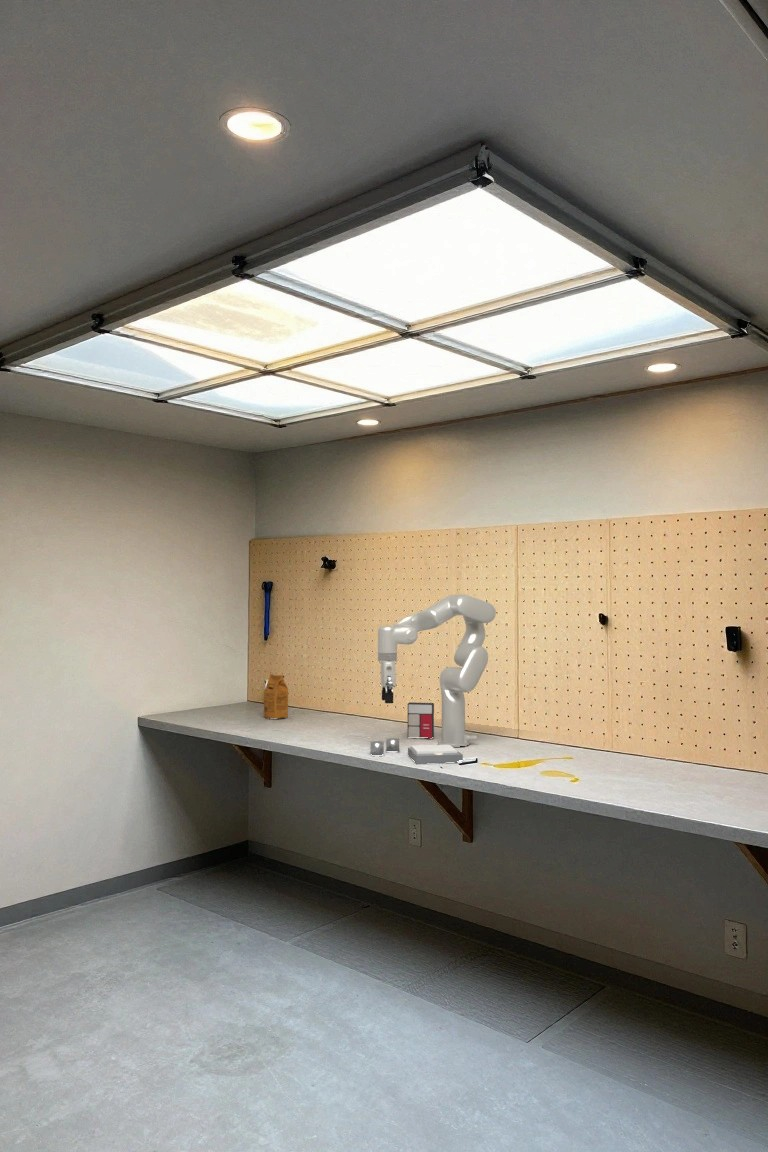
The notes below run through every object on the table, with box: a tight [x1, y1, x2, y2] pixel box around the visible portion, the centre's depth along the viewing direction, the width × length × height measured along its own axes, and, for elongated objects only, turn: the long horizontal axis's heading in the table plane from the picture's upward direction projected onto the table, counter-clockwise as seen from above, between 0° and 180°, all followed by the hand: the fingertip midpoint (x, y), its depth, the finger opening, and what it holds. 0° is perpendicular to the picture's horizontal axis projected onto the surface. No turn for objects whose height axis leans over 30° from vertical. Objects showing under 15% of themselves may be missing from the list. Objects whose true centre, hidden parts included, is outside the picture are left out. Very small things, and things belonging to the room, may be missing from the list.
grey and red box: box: [407, 701, 435, 738], centre depth 352 cm, size 11×4×15 cm, turn 80°
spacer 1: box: [369, 740, 385, 755], centre depth 312 cm, size 5×5×5 cm
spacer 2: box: [385, 737, 400, 752], centre depth 319 cm, size 5×5×5 cm
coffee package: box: [263, 673, 289, 719], centre depth 413 cm, size 10×12×22 cm
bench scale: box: [407, 744, 464, 765], centre depth 305 cm, size 17×17×4 cm
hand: (387, 701), depth 321 cm, fingers open, 9 cm apart
